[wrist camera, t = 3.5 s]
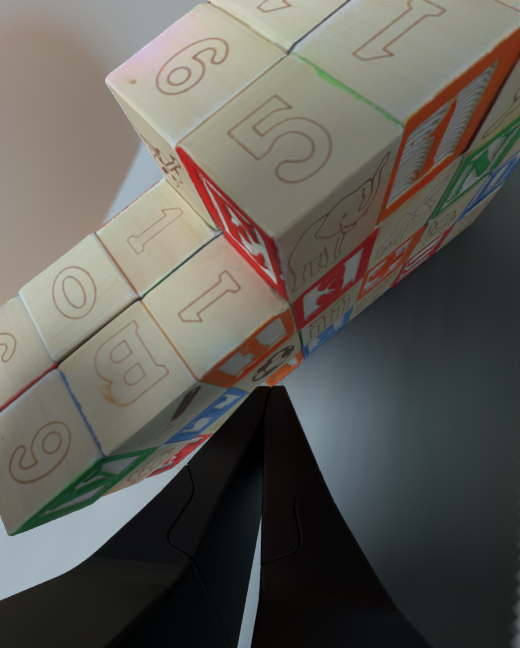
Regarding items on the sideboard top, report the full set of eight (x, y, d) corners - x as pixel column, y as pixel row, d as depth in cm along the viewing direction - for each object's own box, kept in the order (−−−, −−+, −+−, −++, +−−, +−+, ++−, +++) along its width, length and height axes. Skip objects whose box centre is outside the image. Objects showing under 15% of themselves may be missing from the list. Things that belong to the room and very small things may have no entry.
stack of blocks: (173, 473, 16) (-198, 626, 5) (118, 380, 18) (-233, 324, 7) (477, 219, 17) (820, -205, 5) (391, 157, 19) (503, -247, 7)
